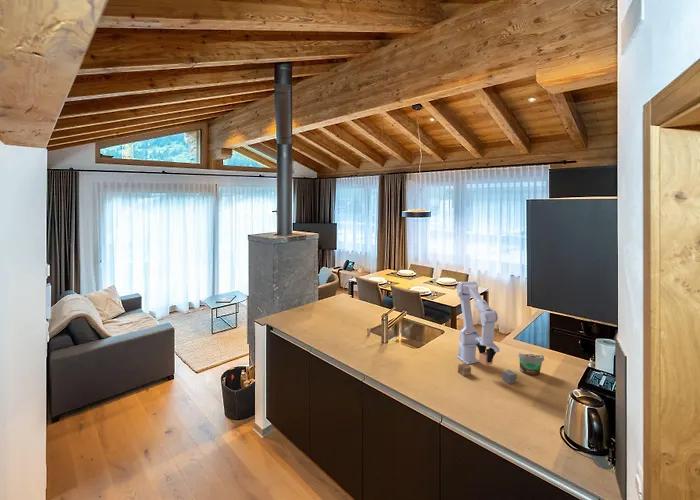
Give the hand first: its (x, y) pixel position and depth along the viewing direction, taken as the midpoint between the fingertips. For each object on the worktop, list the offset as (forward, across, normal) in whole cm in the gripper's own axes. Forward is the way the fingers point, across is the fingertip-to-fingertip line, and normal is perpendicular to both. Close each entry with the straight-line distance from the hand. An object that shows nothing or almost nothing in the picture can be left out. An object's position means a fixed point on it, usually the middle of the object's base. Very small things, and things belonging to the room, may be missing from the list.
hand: (485, 359), depth 177 cm
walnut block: (+9, -6, -8) cm, 13 cm away
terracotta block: (+2, 0, 0) cm, 2 cm away
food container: (+9, +7, +24) cm, 27 cm away
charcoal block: (+9, +8, +8) cm, 14 cm away
